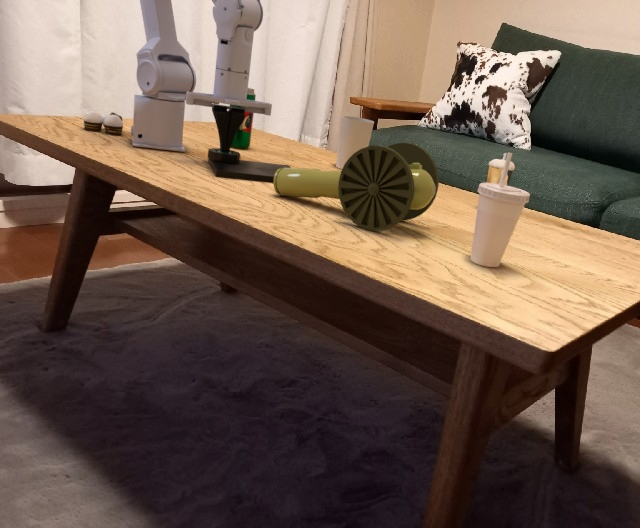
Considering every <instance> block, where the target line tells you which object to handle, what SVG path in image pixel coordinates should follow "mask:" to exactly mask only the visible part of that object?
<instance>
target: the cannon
mask: <svg viewBox="0 0 640 528" xmlns="http://www.w3.org/2000/svg"><path fill="white" fill-rule="evenodd" d="M439 176H440V175H439V171H438V167H437V164H436V162H435V160H434V158H433V157H432V156H431V154H430V153H429V152H428V151H427V150H426V149H424V148H423V147H422V146H420V145H418V144H415V143H413V142H398V143H394V144H390V145H388V146H384V145H371V146H370V145H369V146H368V147H365V148H363V149H360V150H359V151H357V152H355V153H354V154H353V155H352V156H351V157H350V158H349V159H348V160H347V162H346V163H345V165H344V167H343V169H341V170H321V169H320V168H303V167H302V168H301V167H291V168H283V169H278V170H277V171H276V173H275V175H274V182H272V183H273V189H274V191H275V193H276V194H277V195H280V196H283V197H292V198H293V197H294V198H295V197H296V198H308V199H318V198H327V199H335V200H339V202H340V205H341V208H342V209H343V212H344V213H345V215H346V217H347V218H348V219H349V220H350V221H351V222H352V223H353V224H355V225H356V226H358V227H359V228H361V229H363V230H367V231H371V232H379V231H380V232H381V231H384V230H387V229H390V228H392V227H393V226H396V225H397V224H399V223H400V222H402V221H409V220H413V219H416V218H417V217H420V216H422V215H423V214H424V213H425V212H427V211H428V209H429V208H430V207H431V206H432V205H433V203H434V201H435V199H436V197H437V194H438V191H439V185H440V184H439V182H440V179H439V178H440V177H439Z"/></svg>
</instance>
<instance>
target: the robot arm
mask: <svg viewBox="0 0 640 528" xmlns="http://www.w3.org/2000/svg"><path fill="white" fill-rule="evenodd" d="M211 1H212V3H213V5H214V6H212V17H213V20H214V23H215V25H216V27H215V29H216V32H215V35H216V37H217V48H216V58H215V59H216V60H215V61H216V62H215V70H214V81H213V94H212V93H205V92H194V91H195V88H196V86H197V74H196V71H195V68H194V67H193V65H192V63H191V60H190V59H191V58H190V53H189V52H188V51H187V50H186V49H185V48H184V46H183V45H182V44H181V42H179V41H178V35H177V29H176V24H175V22H176V21H175V16H174V10H173V4H172V0H139V3H140V9H141V16H142V22H143V28H144V35H145V40H146V43H145V44H144V45H143V46H142V47H141V48H140V49H139V50H138V51H137V52H136V54H135V55H136V60H137V66H136V82H137V85H138V88H139V89H140V90H141V94H134V96H133V97H134V98H133V116H132V120H133V121H132V125H131V126H130V136H131V139H132V146H133V147H136V148H145V149H153V150H164V151H171V152H181V153H185V152H186V148H185V145H184V143H183V137H184V123H185V122H184V121H185V109H186V105H189V106H193V105H194V106H199V107H200V106H201V107H207V108H211V112H212V115H213V118H214V121H215V125H216V128H217V133H218V139H219V148H220V151H221V152H223V153H229V152H230V150H231V148H232V147H231V144H232V142H233V139H234V137H235V134H236V132H237V130H238V129H239V127H240V125H241V123H242V122H243V120H244V118H245V112H251V113H254V114H259V115H265V116H271V115H272V108H273V104H272V103H270V102H266V101H259V100H255V101H254V100H248V99H247V90H248V88H249V80H250V72H251V62H252V53H253V45H254V34H255V32H256V31H257V30H259V28H260V27H261V25H262V22H263V19H264V8H263V5H262V3H261V0H211ZM230 105H237V106H240V107H242V108H239V107H231V106H230Z"/></svg>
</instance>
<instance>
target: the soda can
mask: <svg viewBox="0 0 640 528" xmlns="http://www.w3.org/2000/svg"><path fill="white" fill-rule="evenodd" d="M256 97H257V95H256V93H255V89H254V88H251V87H248V90H247V99H248V100H254V101H256V99H257V98H256ZM229 106H231V107H239V108H242V107H240V106H237V105H229ZM254 114H255V113H251V112H245V118H244V120H243V122H242V123H241V125H240V127H239V129H238V130H237V132H236V134H235V137H234V139H233V142H232V144H231V148H232V149H237V150H248V149H249V148H250V147H251V142H252V141H251V140H252V133H253V132H252V130H253V122H254Z"/></svg>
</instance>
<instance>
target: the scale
mask: <svg viewBox="0 0 640 528" xmlns="http://www.w3.org/2000/svg"><path fill="white" fill-rule="evenodd" d="M218 150H220V147H211V148H208V150H207V163H208V165H209V166H210V168H211V170H212V172H213V173H214V175H215V177H217V178H227V179H236V180H245V181H246V180H247V181H254V182H255V181H256V182H267V183H273V182H274V175H275V173H276V171H277V170H278V169H283V168H292V167H291V166H290V165H288V164H280V163H272V162H271V163H270V162H264V161H263V162H262V161H253V160H246V159H245V160H244V159H241V153H240V152H239V151H236V150H232V149H230V152H231V153H232V154H228V153H221V152H217V151H218Z"/></svg>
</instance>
